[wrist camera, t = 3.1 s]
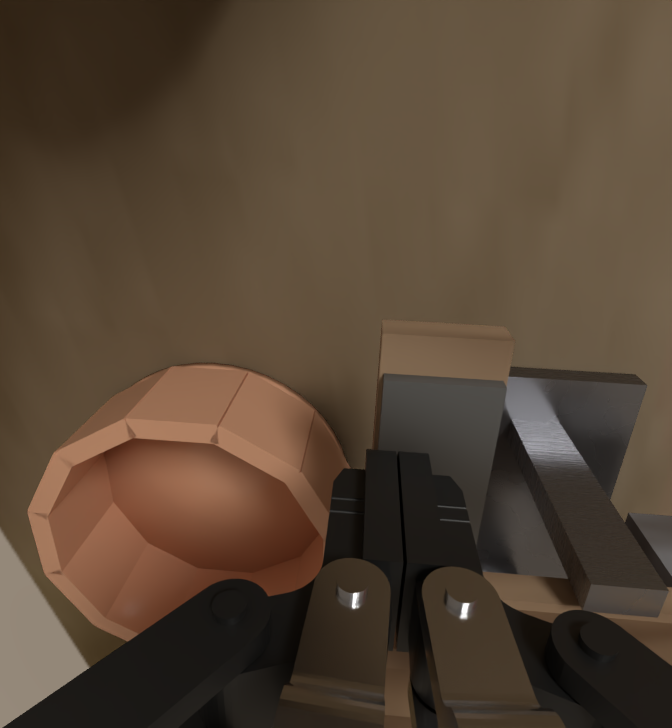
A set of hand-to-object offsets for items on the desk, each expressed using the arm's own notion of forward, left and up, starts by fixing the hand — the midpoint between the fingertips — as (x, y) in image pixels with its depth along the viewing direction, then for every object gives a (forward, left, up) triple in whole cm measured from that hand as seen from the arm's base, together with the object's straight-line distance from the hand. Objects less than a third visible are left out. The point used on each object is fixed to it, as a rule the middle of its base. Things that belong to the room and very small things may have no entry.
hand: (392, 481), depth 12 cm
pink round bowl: (+8, -7, -10) cm, 15 cm away
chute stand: (+8, +7, -10) cm, 14 cm away
